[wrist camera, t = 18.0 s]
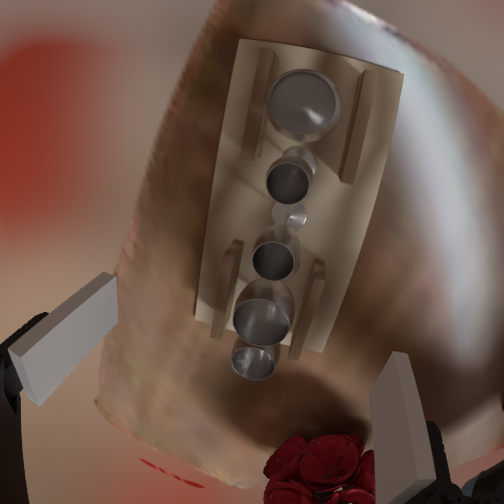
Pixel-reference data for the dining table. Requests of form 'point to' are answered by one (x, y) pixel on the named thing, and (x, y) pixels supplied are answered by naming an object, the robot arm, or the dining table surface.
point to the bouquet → (321, 471)
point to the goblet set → (282, 219)
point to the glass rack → (316, 203)
